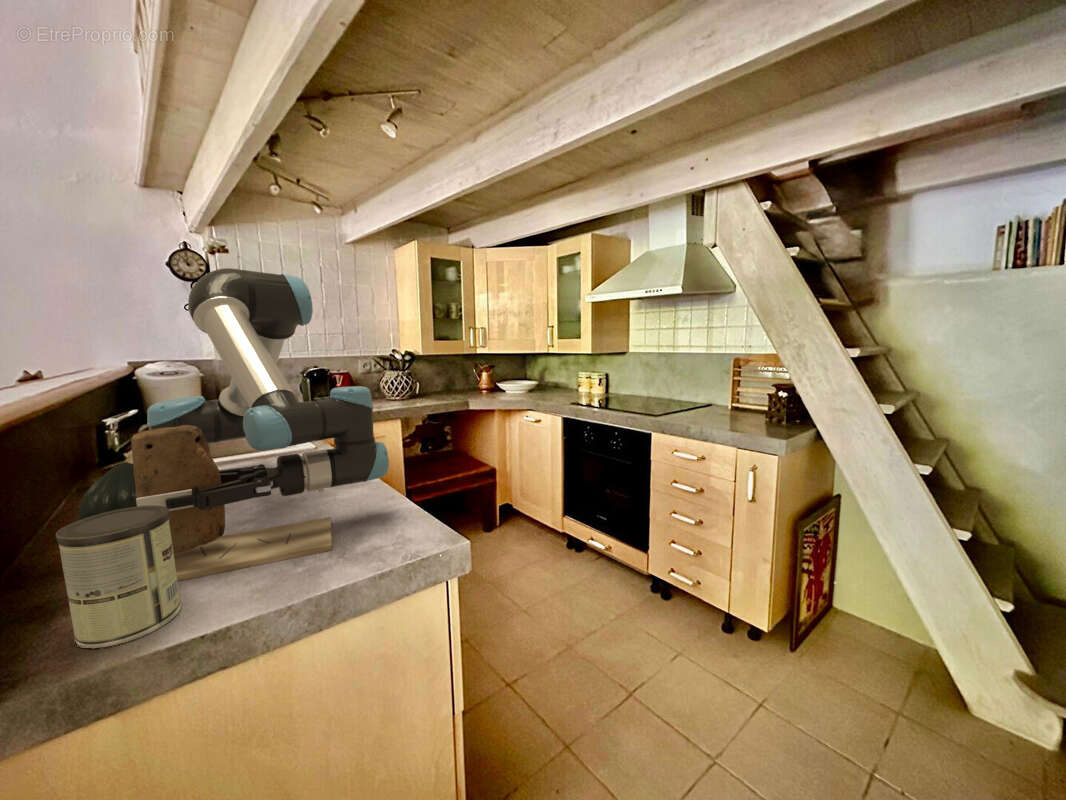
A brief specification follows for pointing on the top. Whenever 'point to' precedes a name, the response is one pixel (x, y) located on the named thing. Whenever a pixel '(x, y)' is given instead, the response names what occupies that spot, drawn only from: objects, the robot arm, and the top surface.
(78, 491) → the top surface
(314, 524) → the board
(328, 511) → the top surface
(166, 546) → the coffee can
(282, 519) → the top surface
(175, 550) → the block
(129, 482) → the squash
